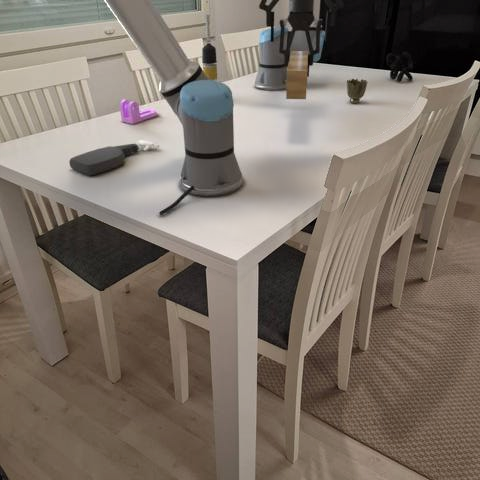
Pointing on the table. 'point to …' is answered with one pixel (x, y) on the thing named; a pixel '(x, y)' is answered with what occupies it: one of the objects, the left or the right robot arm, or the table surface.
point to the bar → (297, 75)
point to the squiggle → (399, 66)
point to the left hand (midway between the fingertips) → (299, 40)
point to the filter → (209, 56)
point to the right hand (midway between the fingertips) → (298, 75)
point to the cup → (356, 89)
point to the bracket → (134, 112)
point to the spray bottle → (106, 157)
